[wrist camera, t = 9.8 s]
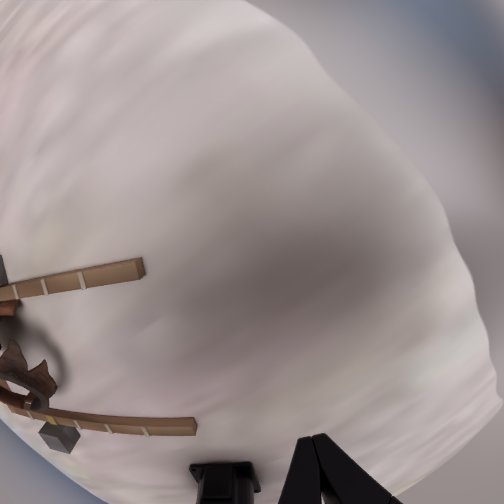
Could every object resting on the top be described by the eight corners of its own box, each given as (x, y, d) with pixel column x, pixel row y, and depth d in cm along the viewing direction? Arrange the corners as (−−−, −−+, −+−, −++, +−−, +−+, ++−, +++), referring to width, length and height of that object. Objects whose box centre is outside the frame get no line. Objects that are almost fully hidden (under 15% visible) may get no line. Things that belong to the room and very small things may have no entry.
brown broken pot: (39, 284, 19) (18, 365, 13) (79, 349, 25) (76, 419, 19) (-41, 298, 16) (-65, 363, 10) (2, 354, 22) (-8, 413, 16)
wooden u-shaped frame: (205, 444, 22) (201, 469, 19) (26, 423, 22) (15, 436, 19) (132, 217, 18) (111, 222, 14) (-41, 270, 18) (-59, 277, 15)
